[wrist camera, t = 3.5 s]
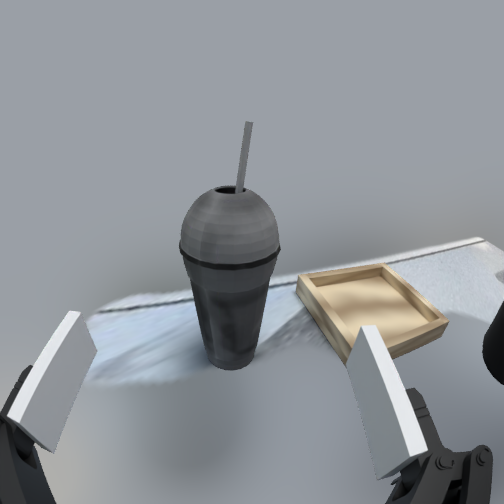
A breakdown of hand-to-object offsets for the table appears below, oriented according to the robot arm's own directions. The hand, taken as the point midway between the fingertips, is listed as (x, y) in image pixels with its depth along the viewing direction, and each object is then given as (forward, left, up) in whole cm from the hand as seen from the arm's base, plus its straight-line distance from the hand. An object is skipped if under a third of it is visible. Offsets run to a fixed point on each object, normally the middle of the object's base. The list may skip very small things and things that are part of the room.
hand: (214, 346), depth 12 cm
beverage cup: (+9, -3, -11) cm, 15 cm away
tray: (+10, -20, -11) cm, 25 cm away
